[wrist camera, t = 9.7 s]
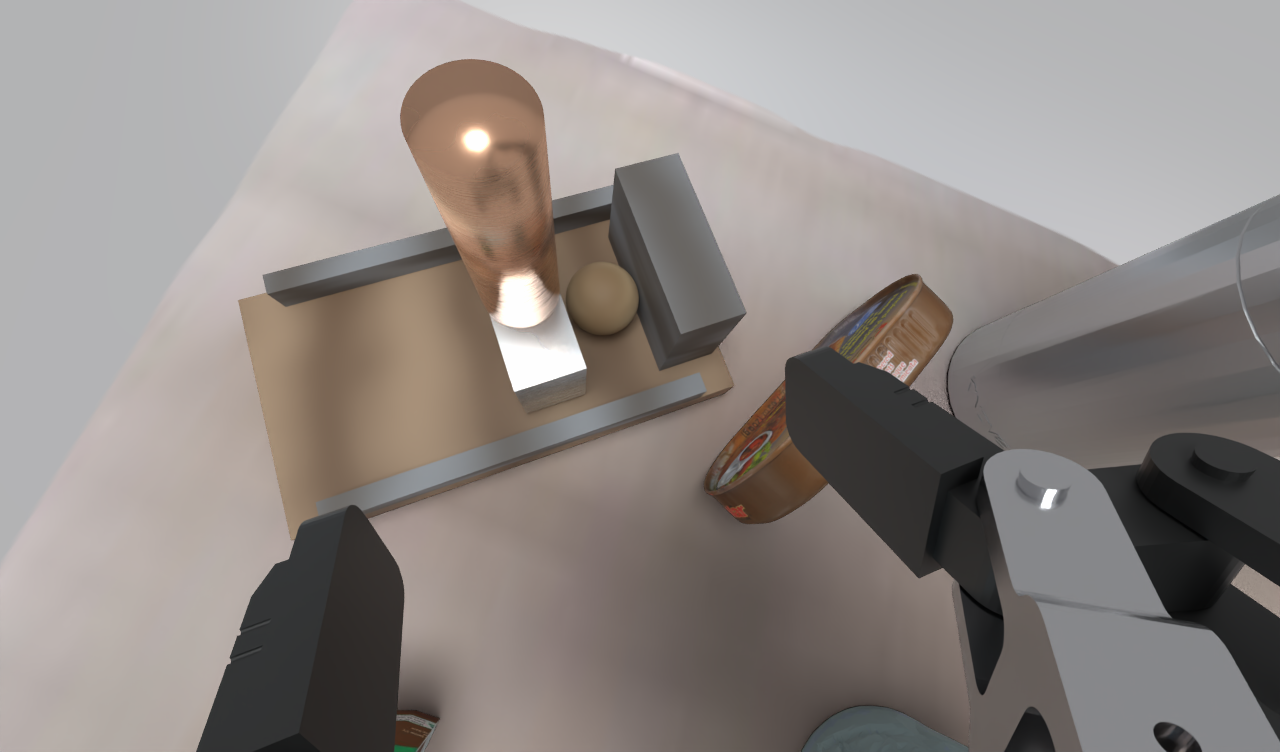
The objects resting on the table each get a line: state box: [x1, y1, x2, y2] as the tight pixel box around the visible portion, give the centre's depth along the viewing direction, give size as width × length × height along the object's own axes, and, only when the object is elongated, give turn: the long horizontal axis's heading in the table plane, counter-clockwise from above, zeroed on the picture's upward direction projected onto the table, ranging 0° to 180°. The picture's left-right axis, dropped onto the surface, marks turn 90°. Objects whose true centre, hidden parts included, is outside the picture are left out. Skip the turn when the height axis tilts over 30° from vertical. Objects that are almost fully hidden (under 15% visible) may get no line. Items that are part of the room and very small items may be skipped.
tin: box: [704, 274, 953, 524], centre depth 26 cm, size 15×3×8 cm, turn 136°
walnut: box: [566, 262, 639, 335], centre depth 26 cm, size 4×4×4 cm
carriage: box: [400, 59, 587, 413], centre depth 19 cm, size 3×8×15 cm, turn 20°
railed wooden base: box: [238, 153, 746, 540], centre depth 25 cm, size 22×12×8 cm, turn 110°
